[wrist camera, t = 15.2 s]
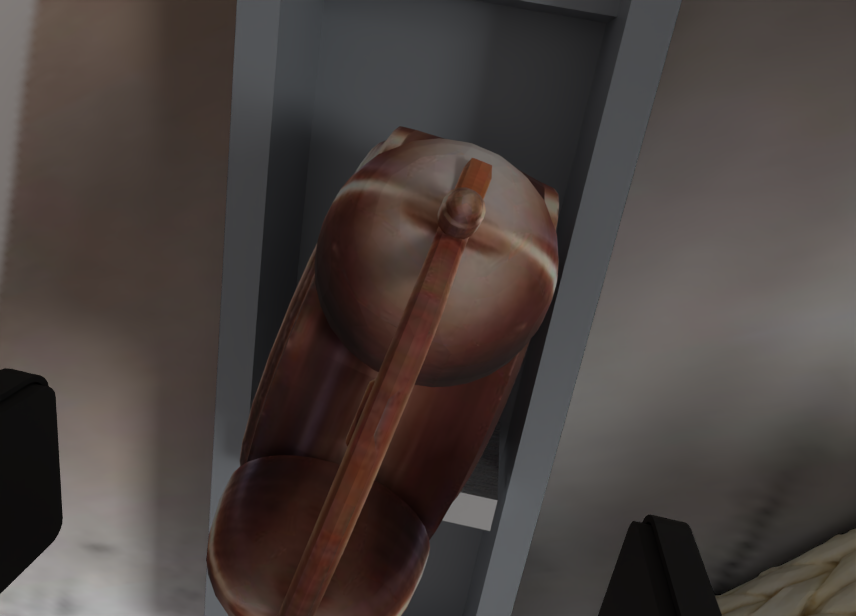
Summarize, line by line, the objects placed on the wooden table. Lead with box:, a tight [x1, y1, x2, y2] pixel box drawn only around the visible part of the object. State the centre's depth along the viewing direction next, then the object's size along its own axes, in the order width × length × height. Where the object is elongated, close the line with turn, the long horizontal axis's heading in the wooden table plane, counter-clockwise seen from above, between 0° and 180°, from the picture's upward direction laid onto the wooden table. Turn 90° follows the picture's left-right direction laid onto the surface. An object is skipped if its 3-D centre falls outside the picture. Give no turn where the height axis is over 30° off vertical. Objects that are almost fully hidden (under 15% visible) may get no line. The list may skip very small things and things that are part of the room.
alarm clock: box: [206, 126, 559, 616], centre depth 16 cm, size 11×5×15 cm, turn 158°
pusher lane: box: [204, 0, 682, 616], centre depth 23 cm, size 12×30×5 cm, turn 170°
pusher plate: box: [442, 421, 500, 531], centre depth 23 cm, size 8×1×5 cm, turn 80°
